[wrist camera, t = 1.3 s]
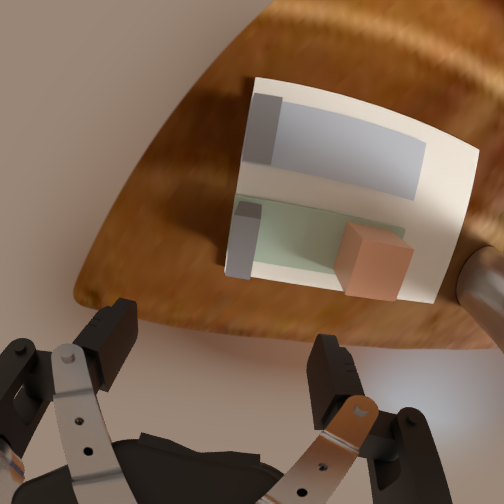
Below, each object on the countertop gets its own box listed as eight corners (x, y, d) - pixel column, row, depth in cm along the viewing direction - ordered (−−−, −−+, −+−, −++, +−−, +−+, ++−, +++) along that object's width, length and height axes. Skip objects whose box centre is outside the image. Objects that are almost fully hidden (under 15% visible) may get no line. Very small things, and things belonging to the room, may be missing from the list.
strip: (423, 142, 23) (454, 145, 18) (411, 199, 25) (439, 214, 20) (252, 97, 23) (248, 84, 18) (240, 161, 25) (234, 166, 20)
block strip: (403, 227, 26) (429, 247, 21) (385, 280, 29) (406, 307, 23) (235, 193, 26) (228, 206, 21) (226, 254, 28) (217, 280, 23)
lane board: (473, 149, 24) (479, 150, 23) (428, 298, 31) (433, 303, 30) (256, 79, 23) (255, 77, 22) (225, 267, 30) (224, 271, 29)
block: (392, 231, 26) (414, 249, 21) (377, 277, 28) (395, 301, 23) (346, 221, 26) (362, 238, 21) (333, 269, 28) (345, 294, 23)
